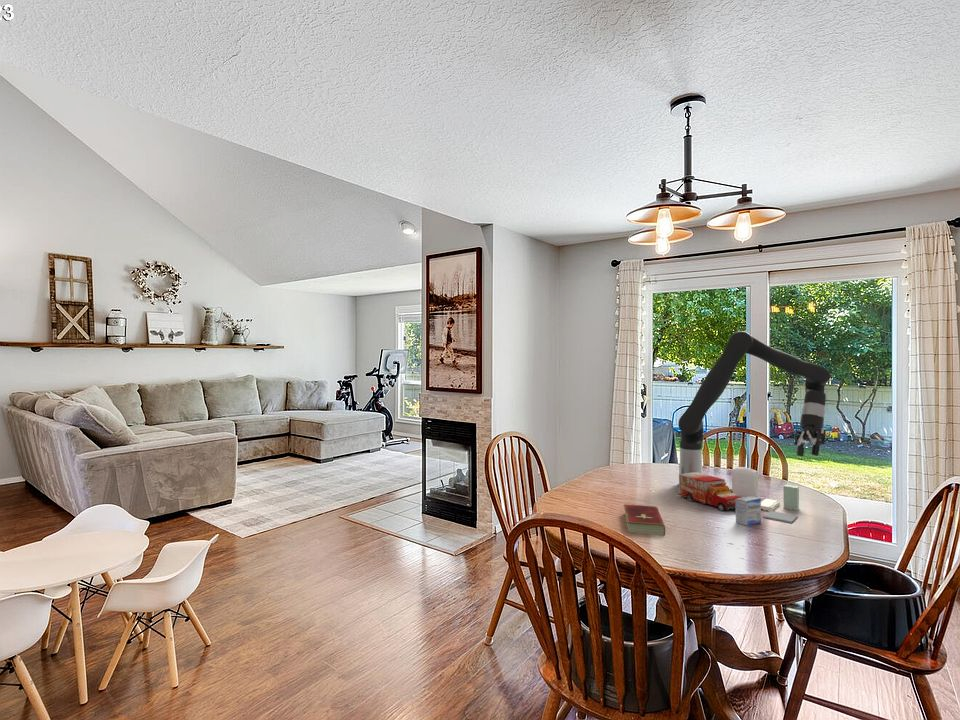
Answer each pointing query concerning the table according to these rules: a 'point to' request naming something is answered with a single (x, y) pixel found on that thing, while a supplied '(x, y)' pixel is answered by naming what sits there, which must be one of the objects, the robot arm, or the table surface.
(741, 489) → the photo printer
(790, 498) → the stub block
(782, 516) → the stub pad
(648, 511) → the hardcover book
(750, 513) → the medicine box
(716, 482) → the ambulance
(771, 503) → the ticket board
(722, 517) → the table surface
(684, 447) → the robot arm
